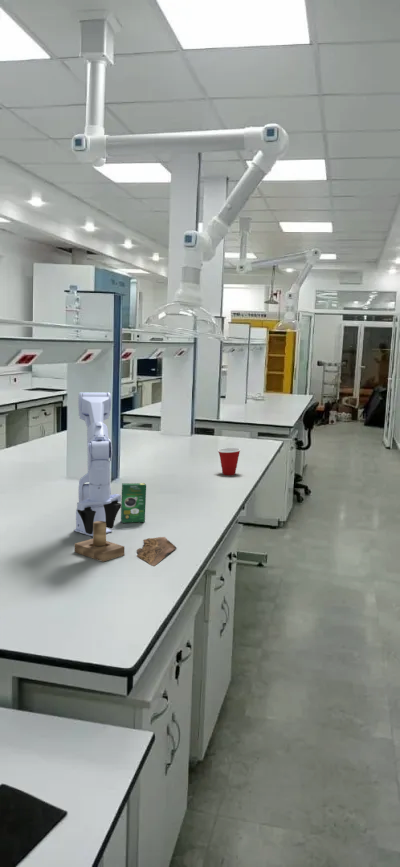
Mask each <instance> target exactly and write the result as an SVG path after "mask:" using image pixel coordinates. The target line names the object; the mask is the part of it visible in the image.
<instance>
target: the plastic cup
mask: <svg viewBox="0 0 400 867" xmlns="http://www.w3.org/2000/svg"><path fill="white" fill-rule="evenodd" d="M241 450H242V449H241V448H239V447H223V448H218V449H217V452H218V455H219V459H220V466H221V472H222V475H224V476H235V474H236V471H237V468H238V461H239V456H240V453H241Z"/></svg>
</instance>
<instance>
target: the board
mask: <svg viewBox="0 0 400 867" xmlns="http://www.w3.org/2000/svg"><path fill="white" fill-rule="evenodd" d="M74 553H77V554H79V555H81V556H85V557H88V558H90V559H93V560H97V561H100V562H103V563H104V562H106V561H110V560H113V559H116V558H119V557H122V556H125V545H120V544H118V543H115V542H112V541H108V540H106V544H105V547H103V548H99V549H98V548H95V547H94V545H93V538H90V539H85V540H83V541H79V542H75V543H74Z"/></svg>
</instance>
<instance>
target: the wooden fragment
mask: <svg viewBox="0 0 400 867" xmlns="http://www.w3.org/2000/svg"><path fill="white" fill-rule="evenodd" d="M142 541H143V545H142V547H140V548H138V549H137V550H136V552H137V555H136V557H137V558H138V559H140V560H141V561H144V562H146V563H147V564H148V565H150V566H151V567H156V566H157V565H158V564H159V563H160V562H161V561H162V560H164V559H165V558H166V557H167V556H168V555H169V554H171V553H172V552H173V551H175V549H177V547H176V546H175V544H173V542H171V541H170V540H168V538H167V537H166V536H160V537H153V538H152V537H149V538H145V539H143V540H142Z"/></svg>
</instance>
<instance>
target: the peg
mask: <svg viewBox="0 0 400 867" xmlns="http://www.w3.org/2000/svg"><path fill="white" fill-rule="evenodd" d="M106 529H107V527H106V522H104V521H96V522H93V536H92V537H93V538H92V539H93V545H94V547H95V548H98V549H99V548H103V547H105V544H106V541H107V533H106Z"/></svg>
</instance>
